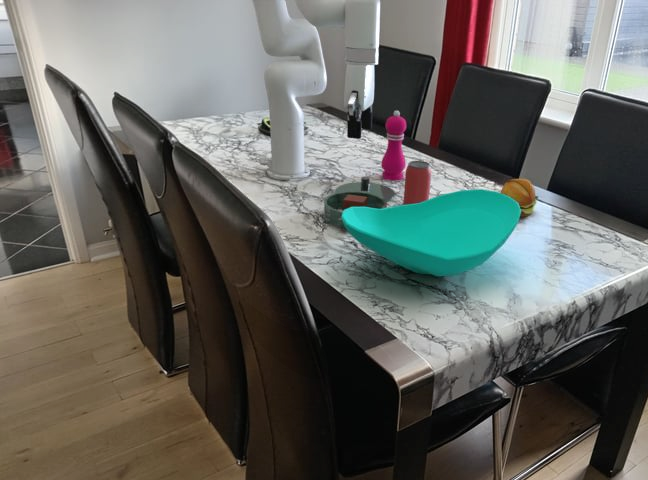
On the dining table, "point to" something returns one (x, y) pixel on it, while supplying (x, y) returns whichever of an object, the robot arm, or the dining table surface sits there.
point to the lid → (368, 188)
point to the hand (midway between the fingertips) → (359, 133)
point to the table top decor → (437, 230)
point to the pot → (337, 202)
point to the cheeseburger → (521, 194)
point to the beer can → (417, 182)
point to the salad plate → (265, 127)
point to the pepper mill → (394, 148)
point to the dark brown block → (354, 201)
